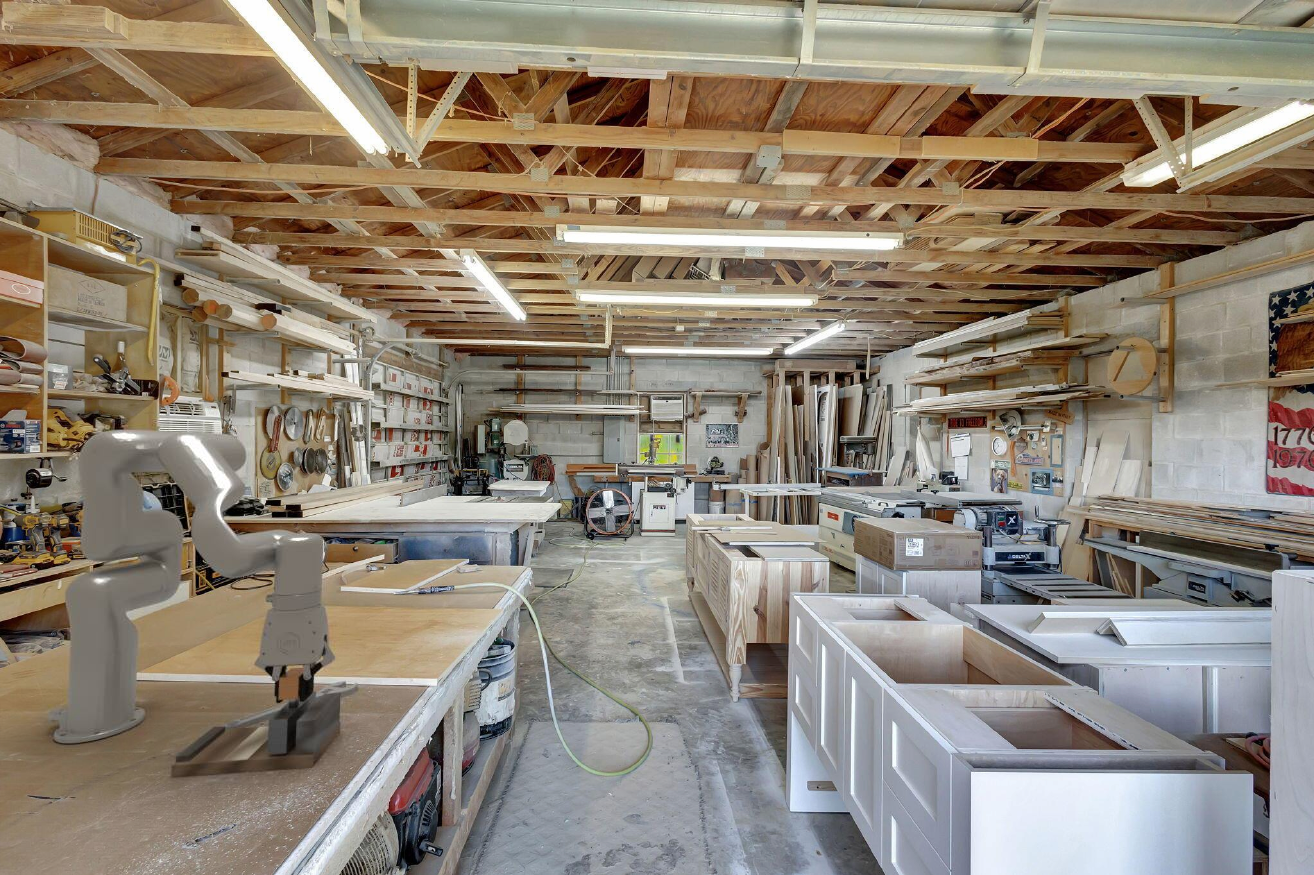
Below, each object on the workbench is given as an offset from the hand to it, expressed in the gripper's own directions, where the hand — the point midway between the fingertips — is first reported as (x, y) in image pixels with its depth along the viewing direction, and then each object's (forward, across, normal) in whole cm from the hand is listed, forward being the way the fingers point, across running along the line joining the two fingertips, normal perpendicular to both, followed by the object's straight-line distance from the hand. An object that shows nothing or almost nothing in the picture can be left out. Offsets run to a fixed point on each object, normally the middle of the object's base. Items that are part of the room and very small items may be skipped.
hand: (294, 698), depth 100 cm
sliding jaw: (+7, 0, 0) cm, 7 cm away
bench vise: (+10, -5, 0) cm, 11 cm away
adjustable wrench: (+10, -8, +19) cm, 23 cm away
